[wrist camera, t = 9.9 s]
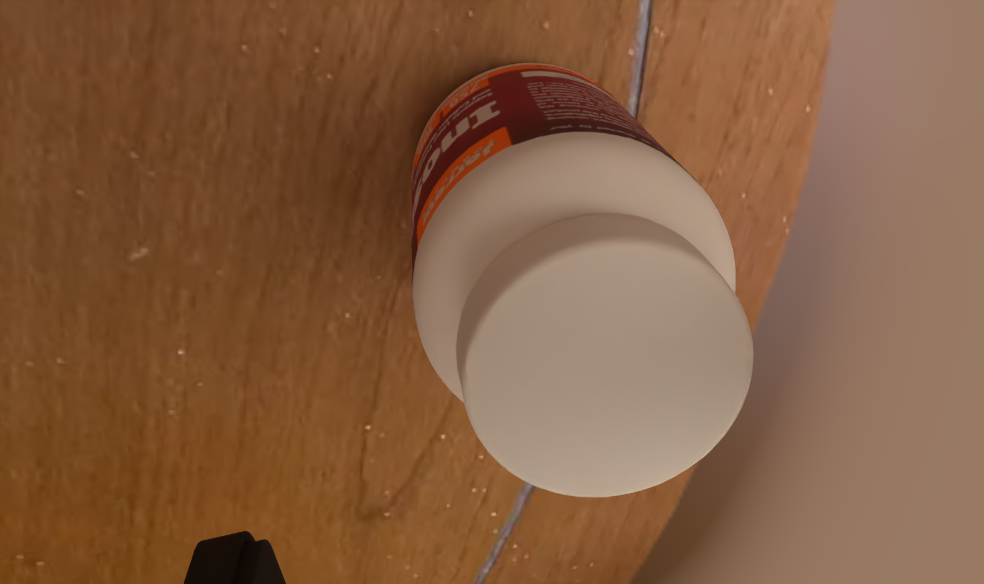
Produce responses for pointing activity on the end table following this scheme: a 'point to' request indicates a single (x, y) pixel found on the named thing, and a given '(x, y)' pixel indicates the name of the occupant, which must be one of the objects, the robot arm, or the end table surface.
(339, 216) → the end table surface
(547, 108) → the pill bottle
